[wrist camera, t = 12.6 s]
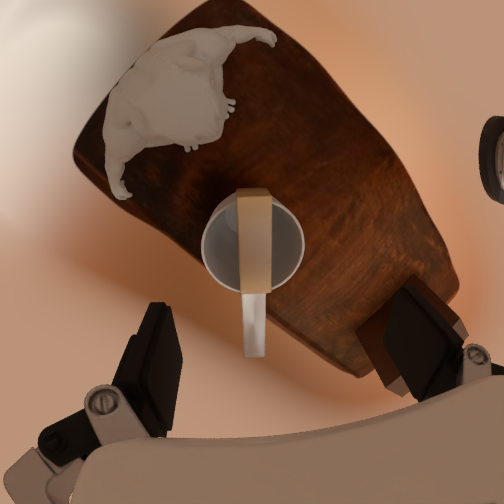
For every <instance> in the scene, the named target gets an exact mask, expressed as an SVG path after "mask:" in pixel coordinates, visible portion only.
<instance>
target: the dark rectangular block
mask: <svg viewBox="0 0 504 504" xmlns="http://www.w3.org/2000/svg"><path fill="white" fill-rule="evenodd" d="M404 286H414V287H415V288H416V289H417V290H418V291H419V292H420V293H421V294H422V295H423V296H424V297H425V298H426V299H427V300H428V301H429V302H430V303H431V304H432V305H433V307H434V308H435V309H436V310H437V311H438V312H439V313H440V314H441V315H442V316H443V317H444V318H445V320H446V321H447V322H448V323H449V324H450V325H451V326H452V327H453V329H454V330H455V331H456V332H457V333H458V334H459V335H460V337H461V338H462V339H463V340H465V339H466V338H467V337H468V336H469V335H468V332H467V331H466V328H465V326H464V324H463V322H462V320H461V319H460V317H459V316H458V315H457V314H456V313H455V312H454V311H453V310H452V309H451V308H450V307H449V306H448V305H447V304H446V303H445V302H444V301H443V300H442V299H441V298H440V297H439V296H437V295H436V294H435V293H434V292H433V291H432V290H431V289H430V288H429V287H428V286H427V285H426V284H425V283H424V282H422V281H421V280H420V279H419V278H418V277H417V276H416V275H415V274H413V275H412V276H411V277H410V279H409V280H408V281H407V282H406V283H405V284H404V285H403V286H402V287H404ZM398 291H399V290H398ZM396 293H397V292H396ZM396 293H395V294H394V295H393V296H392V297H391V298H390V299H389V300H388V301H387V302H386V303H385V304H384V305H383V306H382V307H381V308H380V309H379V310H378V311H377V312H376V313H375V314H374V315H373V316H372V317H371V318H370V319H369V320H368V321H367V322H366V323H365V324H363V325H362V326H361V327H360V328H359V329H358V330H357V331H356V332H355V334H356V335H357V337H358V339H359V341H360V342H361V344H362V346H363V348H364V349H365V351H366V353H367V355H368V357H369V358H370V360H371V362H372V364H373V366H374V368H375V369H376V371H377V373H378V375H379V377H380V379H381V381H382V382H383V384H384V386H385V388H386V389H388V390H390V391H392V392H394V393H396V394H397V395H399V396H401V397H403V396H404V395H406V394H407V393H408V392H409V391H410V390H409V388H408V387H407V385H406V383H405V381H404V380H403V378H402V376H401V374H400V373H399V371H398V369H397V367H396V366H395V364H394V362H393V361H392V359H391V357H390V355H389V354H388V352H387V350H386V349H385V347H384V345H383V342H382V339H383V335H384V332H385V329H386V326H387V323H388V320H389V316H390V313H391V310H392V306H393V303H394V299H395V296H396Z"/></svg>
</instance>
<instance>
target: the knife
mask: <svg viewBox="0 0 504 504" xmlns="http://www.w3.org/2000/svg"><path fill="white" fill-rule="evenodd" d="M236 209H237V235H238V259H239V279H240V292H241V298H242V318H243V339H244V357H245V358H251V357H264V356H265V323H266V293H271V282H272V195H271V194H270V193H269V191H268V190H267V188H237V189H236Z"/></svg>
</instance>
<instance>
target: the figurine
mask: <svg viewBox="0 0 504 504" xmlns="http://www.w3.org/2000/svg"><path fill="white" fill-rule="evenodd" d="M254 37H256V41H259V40H260V41H262V42H265V43H268V44H269V45H270V47H272V48H273V47H274V46H275V43H274V42H277V39H276V35H275V34H274V33H273V32H272V31H268V29H264V28H260V27H247V26H241V25H234V26H226V27H225V26H223V27H221V28H214V29H207V28H197V29H192V30H189V31H187V32H184V33H180V34H177V35H174V36H171V37H169V38H166V39H162V40H159V41H157V42H155V43H154V44H153V45H152V46H151V48H150V50H149V51H147V52H145V53H144V54H143V55H141V56H140V58H139V59H138V60H137V61H136V63H135V65H134V67H133V68H131V69H130V70H128V71H127V72H126V73H125V74H124V75H123V77H122V78H121V79H120V81H119V83H118V85H117V86H116V87H115V88H113V90H112V91H111V93H110V95H109V101H108V106H107V110H106V116H105V122H104V126H103V138H104V141H105V144H106V152H105V161H106V163H105V169H106V172H107V175H108V180H109V184H110V187H111V190H112V193H113V194H114V196H115V197H116V198H118V199H119V200H122V199H123V200H126V199H127V198H129V197H131V196H132V193H129V192H128V191H127V190H126V187H125V186H124V181H123V180H122V181H120V178H121V177H122V174H123V172H124V169H125V164H124V163H125V162H127V161H129V160H130V159H131V158H132V157H133V156H134V155H135V154H137V153H139V152H140V151H141V150H142V149H143V148H144V147H155V146H162V145H169V144H173V143H176V144H179V145H183V146H184V148H185V151H186V152H189V151H190V150H191V148H190V147H189V146H192V148H193V150H197V149H198V144H204V143H210V142H213V141H216V140H218V139H219V138H220V137H221V135H222V131H223V125H224V122H225V119H228V118H229V114H228V113H227V111H229V112H231V113H232V112H234V110H235V109H234V108H233V107H231V106H228V104H231V105H235V104H236V101H235V100H233V99H227V98H226V97H225V95H224V94H223V92H222V91H223V69H222V64H223V63H224V62H225V60H226V59H227V56H228V55H229V54H230V53H231V52H232V50H233V49H234V48H235V44H236V43H237V44H241V43H244V42H246V41H249V40H251V39H252V38H254Z"/></svg>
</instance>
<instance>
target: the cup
mask: <svg viewBox="0 0 504 504" xmlns="http://www.w3.org/2000/svg"><path fill="white" fill-rule="evenodd" d="M304 247H305V242H304V235H303V231H302V228H301V226H300V224H299V222H298V220H297V219H296V218H295V216H294V215H293V214H292V213H291V212H290V211H289V210H288V209H287V208H286V207H285V206H283V205H282V204H281V203H280V202H279V201H278V200H277V199H275V198H274V197H272V282H271V290H273V289H275V288H277V287H279V286H281V285H282V284H284V283H285V282H286V281H287V280H289V279H290V278H291V277H292V275H293V274H294V273H295V272H296V270H297V269H298V267H299V265H300V263H301V261H302V258H303V254H304ZM201 252H202V258H203V261H204V264H205V266H206V268H207V270H208V272H209V273H210V274H211V276H212V277H213V278H214V279H215V280H216V281H217V282H218V283H220V284H221V285H223V286H224V287H226V288H228V289H230V290H233V291H236V292H240V279H239V259H238V235H237V209H236V192H235V193H233V194H231V195H230V196H228V197H227V198H226V199H224V200H223V201H222V202H221V203H220V204H219V205H218V206H217V207H216V209H215V210H214V212H213V214H212V216H211V218H210V220H209V222H208V224H207V226H206V228H205V230H204V233H203V237H202V242H201ZM240 293H241V292H240Z"/></svg>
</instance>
